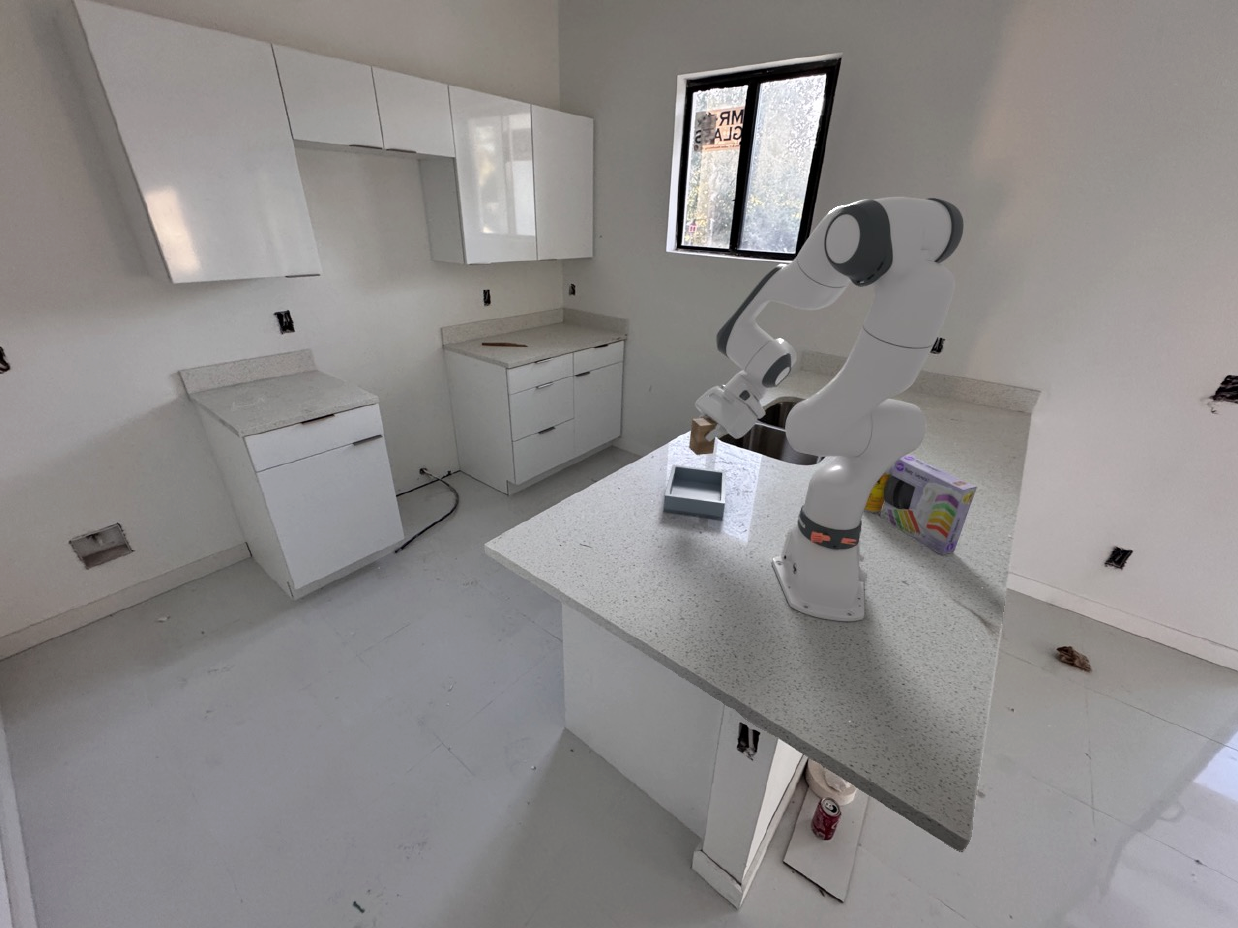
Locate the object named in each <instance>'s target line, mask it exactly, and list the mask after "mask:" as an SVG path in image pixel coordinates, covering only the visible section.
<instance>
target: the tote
mask: <svg viewBox="0 0 1238 928" xmlns="http://www.w3.org/2000/svg"><path fill="white" fill-rule="evenodd" d="M668 478H669V479H668V480H667V481H668V482H667V485H666V489H665V494H664V501H663V511H662V512H663V513H666V514H673V515H681V516H682V515H683V516H689V517H695V518H703V519H709V520H717V521H723V520H724V519H723V518H724V512H725V505H726V488H727V487H726V485H727V471H724V470H719V469H718V470H716V469H712V468H711V469H709V468H701V467H694V466H685V465H679V464H678V465H677V464H672V466H671V470H670V474H669V477H668Z"/></svg>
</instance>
